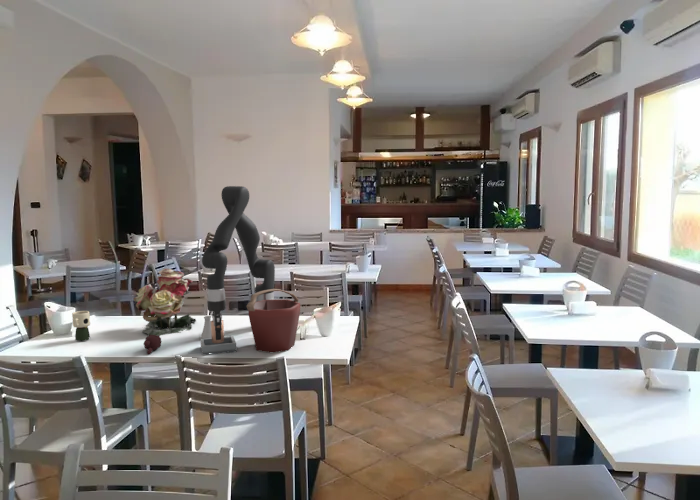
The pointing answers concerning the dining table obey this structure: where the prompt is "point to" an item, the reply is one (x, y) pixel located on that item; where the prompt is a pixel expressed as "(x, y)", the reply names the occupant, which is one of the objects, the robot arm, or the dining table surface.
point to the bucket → (274, 322)
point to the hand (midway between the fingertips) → (217, 337)
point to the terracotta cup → (215, 334)
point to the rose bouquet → (165, 303)
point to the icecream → (152, 343)
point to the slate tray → (218, 345)
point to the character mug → (81, 325)
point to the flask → (206, 328)
